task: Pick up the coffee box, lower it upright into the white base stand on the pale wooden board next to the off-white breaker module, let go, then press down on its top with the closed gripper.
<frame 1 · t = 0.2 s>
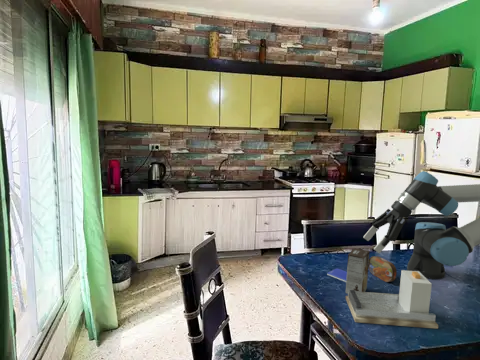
hand: (370, 244, 141), 16 cm above the table, tool tilted 35°, fingers open, 13 cm apart
white base stand: (388, 304, 118), on the rail board, point 3 cm above the table
breaker module: (414, 291, 116), on the rail board, point 8 cm above the table
tin: (381, 278, 147), on the table
rail board: (388, 312, 118), on the table
coffee box: (356, 291, 134), on the table
hard drive: (344, 278, 147), on the table
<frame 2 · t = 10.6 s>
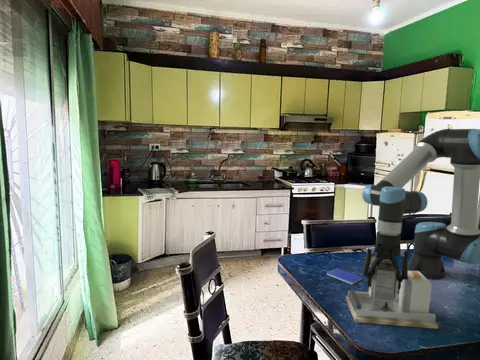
hand: (382, 296, 117), 6 cm above the table, tool pointing down, fingers closed on coffee box, 7 cm apart
coffee box: (381, 308, 118), point 2 cm above the table, touching white base stand, gripper
everything else where it was.
when the fingers open (6 cm above the table, at t = 11.0 s): coffee box stays where it is, resting on white base stand.
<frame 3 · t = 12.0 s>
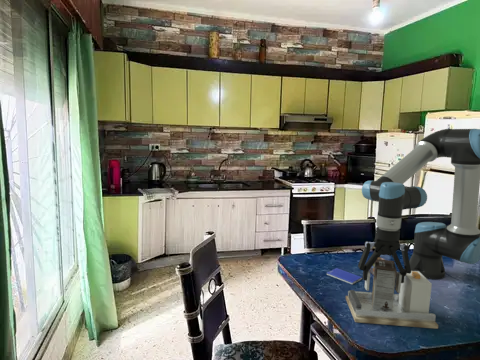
hand: (381, 290, 117), 8 cm above the table, tool pointing down, fingers open, 10 cm apart
coffee box: (381, 308, 118), point 2 cm above the table, touching white base stand
everything else where it was.
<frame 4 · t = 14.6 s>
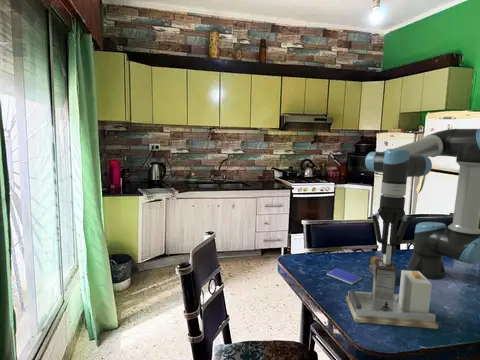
hand: (386, 262, 116), 18 cm above the table, tool pointing down, fingers closed
coffee box: (381, 308, 118), point 2 cm above the table, touching white base stand, gripper
everything else where it was.
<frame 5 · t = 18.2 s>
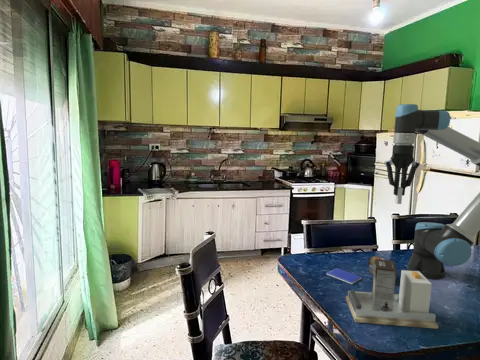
hand: (398, 203, 136), 34 cm above the table, tool pointing down, fingers closed
coffee box: (381, 308, 118), point 2 cm above the table, touching white base stand
everything else where it was.
at the end: coffee box 0.6 cm from the target spot on the white base stand, point 1.6 cm above the white base stand's base; coffee box tilted 0°; the gripper is holding nothing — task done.
